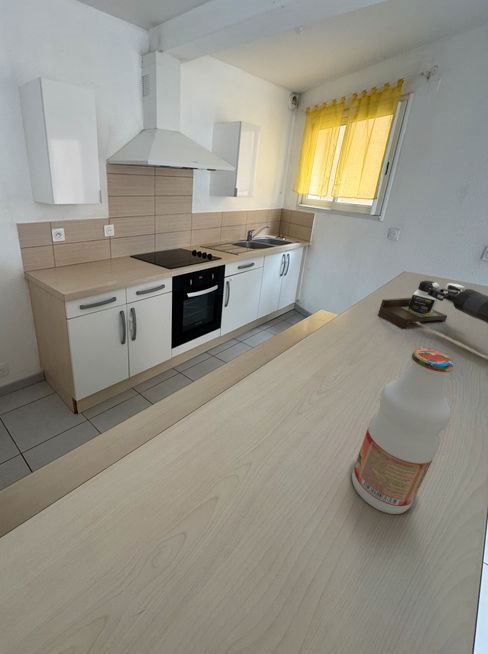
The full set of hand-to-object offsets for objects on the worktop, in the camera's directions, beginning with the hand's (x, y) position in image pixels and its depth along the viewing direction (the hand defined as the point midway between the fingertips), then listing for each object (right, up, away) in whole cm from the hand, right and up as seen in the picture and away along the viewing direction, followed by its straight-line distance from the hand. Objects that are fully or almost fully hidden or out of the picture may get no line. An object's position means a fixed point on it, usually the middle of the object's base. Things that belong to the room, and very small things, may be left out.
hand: (437, 287), depth 117 cm
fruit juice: (-57, -40, -60) cm, 91 cm away
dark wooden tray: (-3, -12, +10) cm, 16 cm away
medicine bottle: (-1, -9, +8) cm, 12 cm away
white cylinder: (+33, -4, +35) cm, 48 cm away
